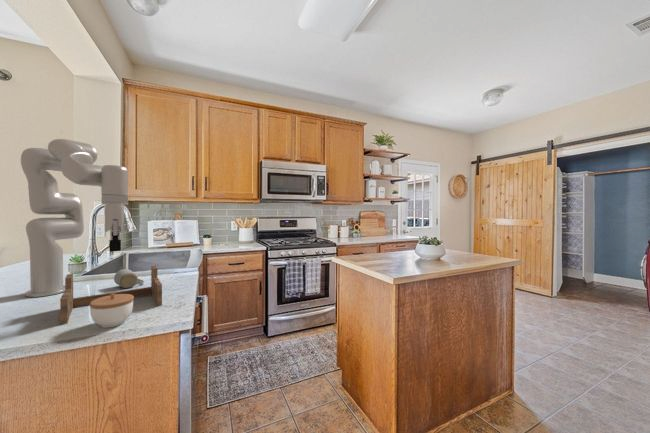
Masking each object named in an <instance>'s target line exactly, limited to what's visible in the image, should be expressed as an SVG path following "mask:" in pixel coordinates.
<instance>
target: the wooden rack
mask: <svg viewBox="0 0 650 433" xmlns="http://www.w3.org/2000/svg"><path fill="white" fill-rule="evenodd" d="M150 267H151V268H150V272H151V273H150V280H151V281H150V283H151V284H150V285H151V286H146V287H141V288H135V289H126V290H120V291H114V292H107V293H101V294H100V293H99V294H93V295H86V296H81V297H80V296H79V297H74V274H73V273H69V274H66V276H65V278H64V286H65V291H64V292H62V295H61V297H60V299H59V302H60V303H59V304H60V306H59V307H60V312H59V313H60V314H59V315H60V325H65V324H68V322H69V321H70V320H69V319H70V317H71V314H72V311H73V308H79V307H86V306H90V303H91V302H92V301H93V300H95V299H98V298H101V297H104V296H109V295H111V294H131V295H133V296H134V298H139V297H145V296H152V298H153V300H154V303H155V305H156V307H160V306H163V284H162V282H161V280H160V279H159V278H158V266H156V265H151V266H150Z"/></svg>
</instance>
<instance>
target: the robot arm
mask: <svg viewBox="0 0 650 433" xmlns="http://www.w3.org/2000/svg"><path fill="white" fill-rule="evenodd" d="M97 159H98V151H97V149H96V148H95V147H94V146H93V145H91V144H90V143H86V142H81V141H75V140H70V139H66V138H57V139H53V140H51V141H50V142H48V145H47V148H42V147H29V148H26V149H24V150H23V151H22V152H21V155H20V166H21V169H22V171H23V173H24V175H25V178H26V180H27V186H28V187H27V188H28V189H27V190H28V199H29V200H28V201H29V208H30V211H31V212H32V213H33V214H36V215H47V216H49V215H53V216H54V215H64V217H38V218H33V219H31V220H29V221H28V222H27V223H26V225H25V232H26V236H27V240H28V244H29V270H30V271H29V272H30V275H29V277H30V284H29V285H30V286H29V287H30V289H29V290H27V291H26V292H24V296H25V297H27V298H39V297H41V298H42V297H46V296H53V295H58V294H63V293H64V291H65V285H64V251H63V248H62V246H61V245H59V243H58V242H56V241H59V240H68V239H70V240H71V239H78V238H79V237H81V236H82V235H83V233H84V229H85V227H84V226H85V225H84V214H83V213H84V210H83V202H82V200H81V198H80V197H79V196H78V195H77V194H74V193H69V192H59V186H58V181H57V179H56V178H55V176H53V175H52V174H51V172H50V171H53V172H61V173H62V174H63V176H64V177H65V178H66V179H68V180H69V181H70V182H72V183H74V184H76V185H81V186H91V187H92V186H94V187H101V190H100V192H101V194H100V195H101V201H100V202H101V205H104V206H105V207H104V232H105V233H108V231H109V234H110V237H109V239H110V240H108V242H109V246H108V247H109V252H113V253H114V252H121V251H122V250H121V249H122V239H121V232H122V231H124V223H125V205H126V206H127V205H129V170H128V169H127V167H125V166H121V165H116V164H115V165H113V164H107V165H96V164H94V163H95V162H96V161H97Z"/></svg>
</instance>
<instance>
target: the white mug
mask: <svg viewBox="0 0 650 433" xmlns="http://www.w3.org/2000/svg"><path fill="white" fill-rule="evenodd" d="M113 281H114V283H115V284H116V285H118V286H119V287H121V288H123V289H131V288H133V287H134V286H135V285H141V284H142V285H144V283H145V280H143V279H140V278H138V275H137V273H135V272H134V271H132V270H131V269H129V268H123V269H120V270H118V271H117V272H116V273H115V274H114V276H113Z"/></svg>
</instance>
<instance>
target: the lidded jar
mask: <svg viewBox="0 0 650 433" xmlns="http://www.w3.org/2000/svg"><path fill="white" fill-rule="evenodd" d="M134 299H135V297H134V296H133V295H131V294H111V295H109V296H104V297H101V298H98V299H95V300H93V301H92V302H91V303H90V305H89V306H90V307H89V308H90V316H91V318H92V320H93V322H94V323H95V324H97V325H98V326H99V327H100V328H113V327H116V326H120V325H122V324H124V323H125V322H126V320H127V319H128V318H129V317H130V316H131V314H132V312H133V308H134Z"/></svg>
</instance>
